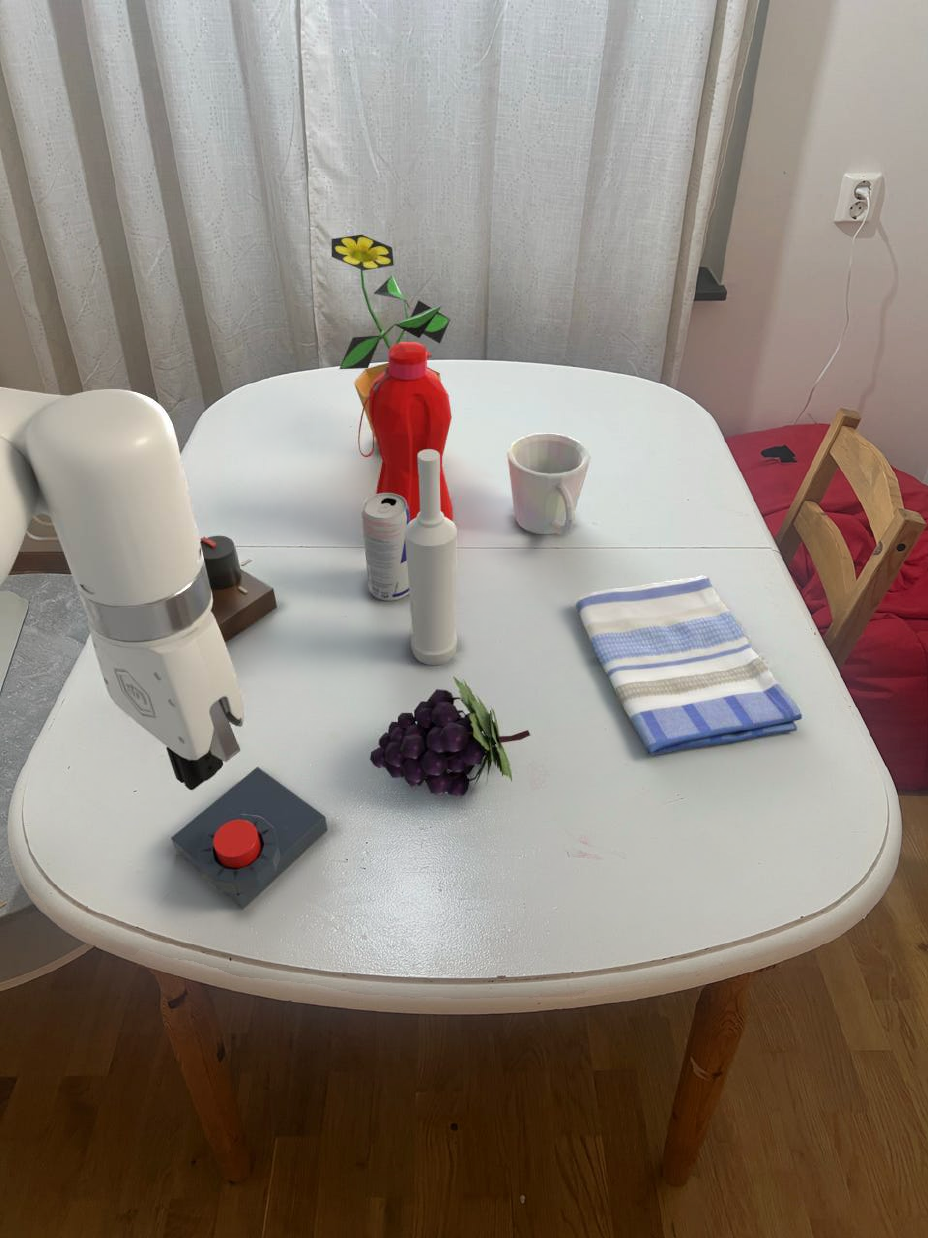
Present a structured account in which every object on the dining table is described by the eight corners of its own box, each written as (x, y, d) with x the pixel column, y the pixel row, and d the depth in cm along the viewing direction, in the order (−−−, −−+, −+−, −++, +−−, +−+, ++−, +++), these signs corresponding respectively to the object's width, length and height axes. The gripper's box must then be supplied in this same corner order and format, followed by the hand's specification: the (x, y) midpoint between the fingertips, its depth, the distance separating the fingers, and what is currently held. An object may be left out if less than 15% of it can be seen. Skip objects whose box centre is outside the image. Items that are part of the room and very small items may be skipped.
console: (195, 664, 93) (189, 643, 91) (137, 624, 98) (130, 603, 96) (288, 599, 101) (285, 579, 99) (231, 565, 106) (227, 545, 104)
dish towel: (706, 586, 103) (711, 568, 101) (804, 733, 86) (812, 714, 84) (570, 606, 100) (572, 588, 99) (643, 762, 83) (647, 743, 81)
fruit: (389, 765, 87) (531, 728, 86) (390, 844, 78) (548, 804, 77) (356, 689, 81) (507, 648, 80) (352, 764, 72) (522, 720, 71)
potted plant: (367, 489, 118) (348, 270, 98) (327, 426, 131) (303, 221, 111) (483, 462, 124) (488, 249, 104) (434, 404, 137) (430, 204, 116)
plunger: (236, 876, 70) (232, 865, 69) (208, 852, 72) (204, 841, 70) (269, 846, 72) (266, 835, 71) (241, 824, 74) (237, 812, 72)
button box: (242, 922, 71) (233, 896, 68) (168, 857, 75) (158, 831, 73) (333, 835, 77) (329, 809, 74) (261, 780, 82) (254, 753, 79)
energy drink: (419, 578, 104) (416, 496, 96) (404, 606, 100) (399, 522, 92) (378, 570, 105) (371, 488, 97) (361, 597, 101) (353, 514, 93)
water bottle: (360, 517, 113) (343, 336, 97) (439, 504, 116) (436, 325, 99) (374, 558, 107) (358, 372, 90) (458, 544, 109) (458, 360, 92)
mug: (567, 491, 118) (574, 427, 111) (606, 556, 107) (616, 489, 101) (495, 501, 116) (497, 437, 110) (527, 568, 106) (532, 501, 99)
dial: (249, 575, 100) (242, 542, 96) (220, 594, 97) (211, 561, 94) (224, 561, 102) (217, 528, 98) (195, 579, 99) (186, 546, 96)
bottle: (405, 662, 93) (393, 466, 77) (418, 631, 97) (409, 437, 80) (451, 670, 92) (449, 473, 76) (462, 638, 96) (462, 444, 79)
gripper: (24, 570, 54) (100, 754, 66) (172, 679, 47) (226, 861, 60) (126, 518, 59) (179, 699, 71) (274, 611, 52) (304, 794, 64)
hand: (200, 773), depth 65 cm, fingers closed
